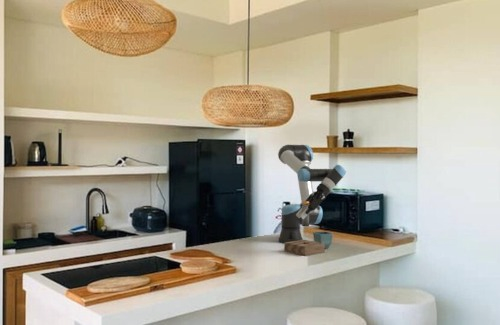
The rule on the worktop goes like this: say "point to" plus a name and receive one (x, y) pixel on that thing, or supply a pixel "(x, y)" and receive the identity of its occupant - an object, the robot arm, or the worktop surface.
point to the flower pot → (323, 238)
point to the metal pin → (306, 220)
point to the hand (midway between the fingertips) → (299, 217)
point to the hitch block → (304, 247)
